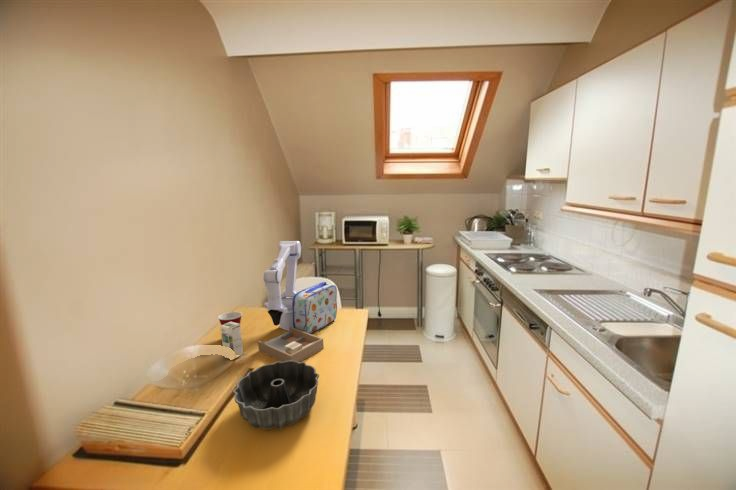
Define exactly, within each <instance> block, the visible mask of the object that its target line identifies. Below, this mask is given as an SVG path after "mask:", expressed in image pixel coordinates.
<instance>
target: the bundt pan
mask: <svg viewBox="0 0 736 490" xmlns="http://www.w3.org/2000/svg"><path fill="white" fill-rule="evenodd" d="M316 371H317V370H316V368H315V366H313V365H310V364H307V363H306V362H303V361H300V362H297V361H284V362H281V361H275V362H273V363H267V364H264V365H261V366H258V367H257V368H256V369H254V370H251V371H248V372H247V374H246V375H245V376H243V377H241V378H240V379H239V380H238V381H237V382H236V387H235V388H234V389H233V390H232V394H234V397H233V398H234V401H235V403H236V404H237V406H238V409H239V412H240V415H241V417H242V418H243V420H244V421H246V422H248V424H249V425H250V426H251V427H252V428H259V427H260V428H261V429H264V430H272V429H274V428H275V427H276V428H277V429H282V428H284V426H285V425H288V426H289V425H294V424H295V423H297V422H298V421H300V418H306V416H307V415H308V413H309V411H310V410H311V409H312V408H313V406H314V405H315V402H316V396H317V393H318V385H319V378H320V374H319V373H317V372H316Z"/></svg>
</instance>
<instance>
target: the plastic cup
mask: <svg viewBox="0 0 736 490" xmlns="http://www.w3.org/2000/svg"><path fill="white" fill-rule="evenodd" d="M242 316H243V312H239V311H230V312H225V313H222V314H220V315H218V316H217V319H218V321H219V323H220V325H221V326H222V325H224V324H226V323H228V322H235V323H238V324H240V325H241V320H242ZM221 326H220V327H221Z"/></svg>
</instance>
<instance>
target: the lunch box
mask: <svg viewBox="0 0 736 490" xmlns="http://www.w3.org/2000/svg"><path fill="white" fill-rule="evenodd" d="M337 291H338V289H337V286H336V285H335V284H332V283H327V281H322V282H319V283H317V284H315V285H313V286H310V287H307V288H304V289H302V290H300V291H298V292H296V294H295V295H294V297H292V298H293V300H292V309H293V327H294V328H295V329H298V330H301V331H304V332H306V333H309V334H312V333H314V332H316V331H318V330H320V329H322V328H325V327H326V326H328V325H329V324H331V323H332V322H334V321H335V320H336V318H337V314H338V306H337V304H338V302H337V299H338V295H337V294H338V292H337Z"/></svg>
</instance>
